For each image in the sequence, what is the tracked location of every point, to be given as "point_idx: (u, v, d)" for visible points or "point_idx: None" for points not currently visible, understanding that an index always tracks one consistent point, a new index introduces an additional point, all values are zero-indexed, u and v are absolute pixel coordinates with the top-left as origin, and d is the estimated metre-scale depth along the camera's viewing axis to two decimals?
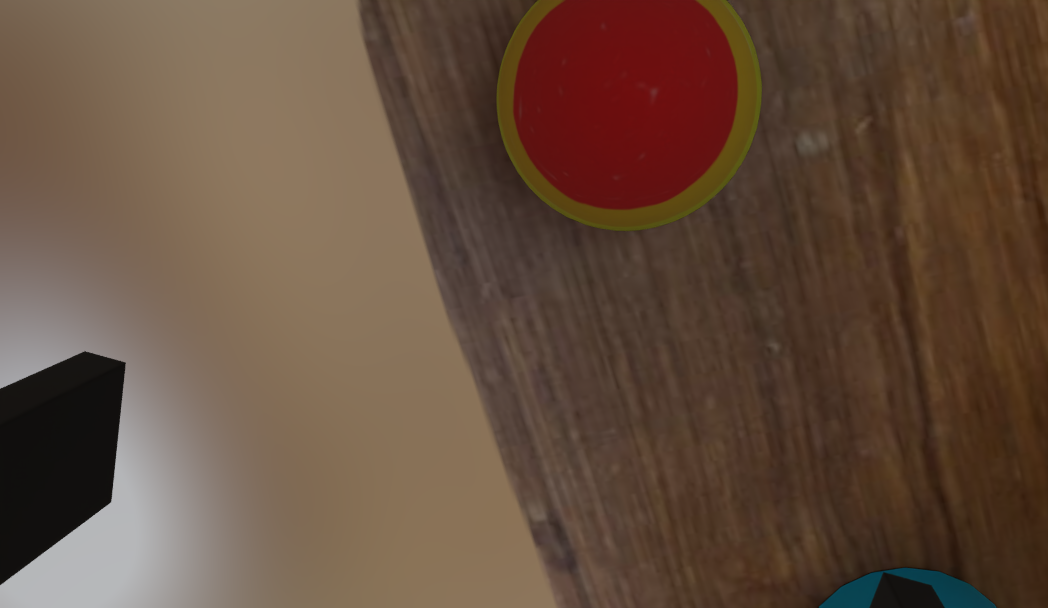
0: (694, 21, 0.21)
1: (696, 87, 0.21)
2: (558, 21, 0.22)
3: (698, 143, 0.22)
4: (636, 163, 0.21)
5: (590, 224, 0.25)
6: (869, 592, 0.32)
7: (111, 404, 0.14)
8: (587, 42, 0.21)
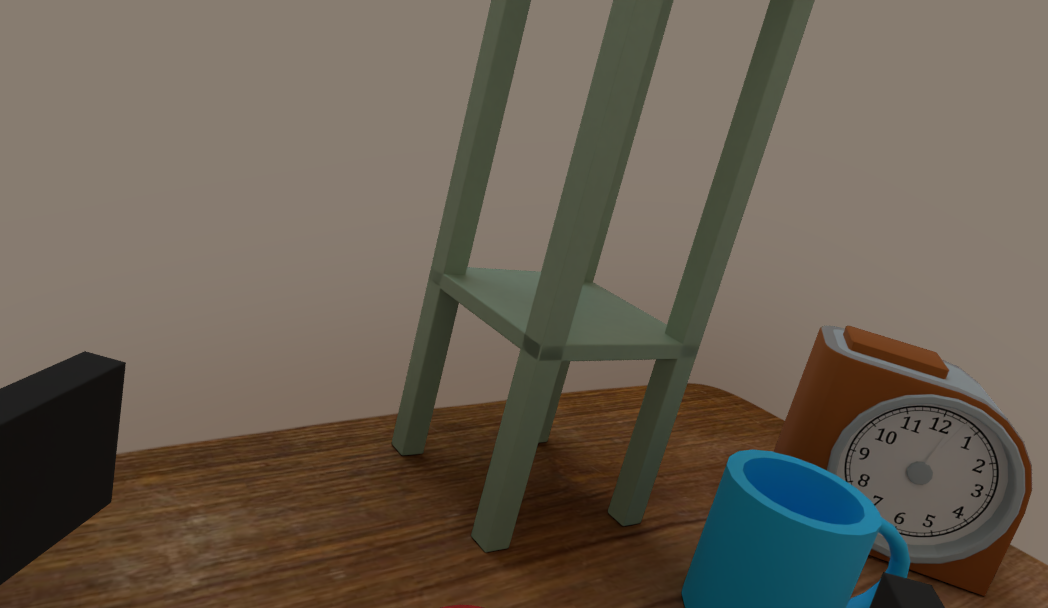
0: None
1: None
2: None
3: None
4: None
5: None
6: None
7: (112, 404, 0.14)
8: None
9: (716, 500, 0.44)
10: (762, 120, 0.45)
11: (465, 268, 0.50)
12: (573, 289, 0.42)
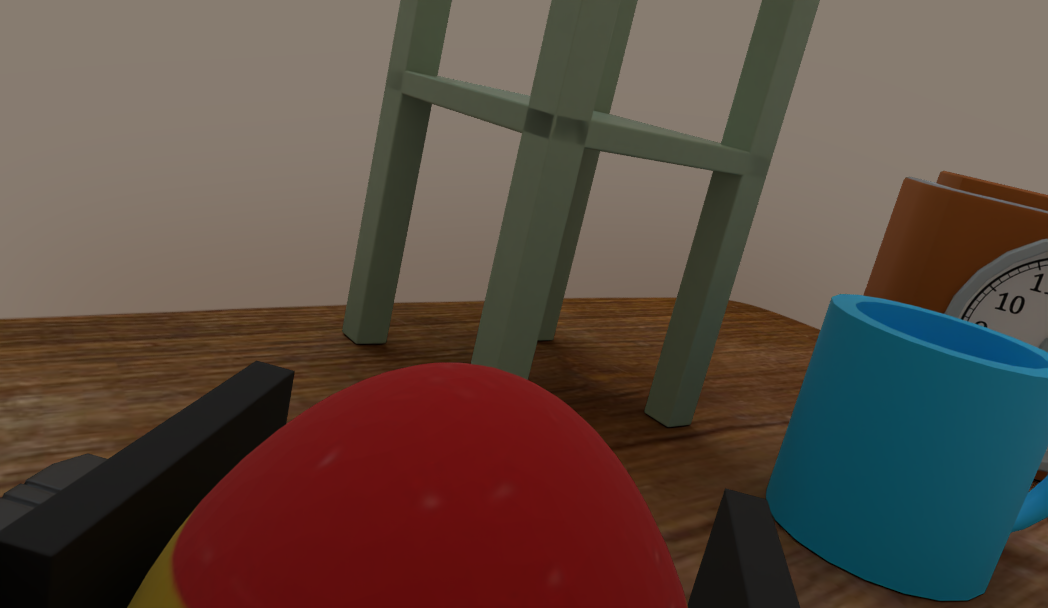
0: None
1: None
2: (308, 607, 0.08)
3: None
4: None
5: None
6: (848, 538, 0.28)
7: (283, 409, 0.15)
8: (374, 462, 0.09)
9: (818, 356, 0.30)
10: None
11: (436, 66, 0.36)
12: (601, 24, 0.27)
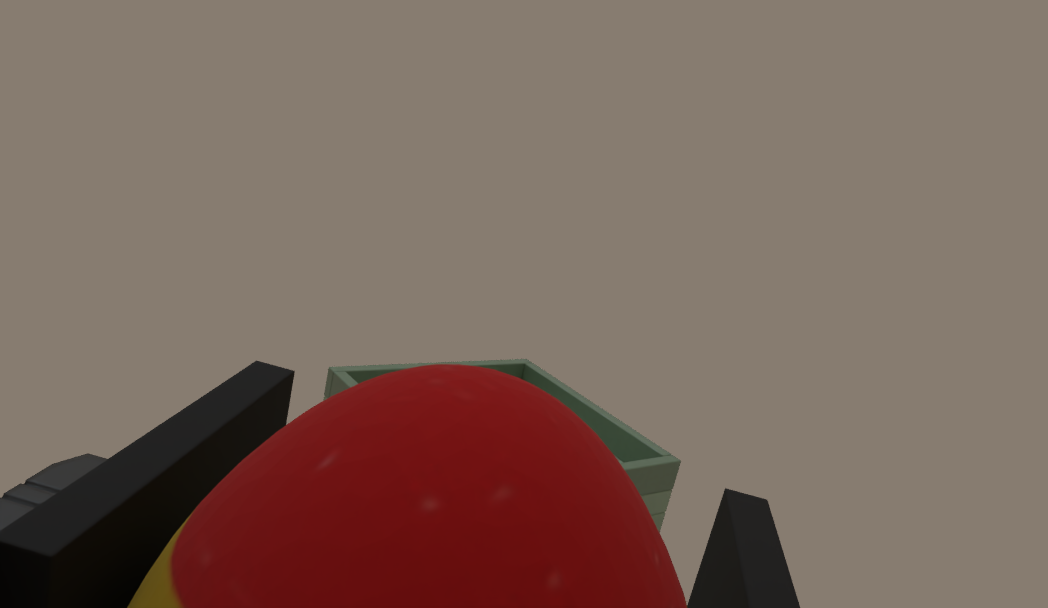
0: None
1: None
2: None
3: None
4: None
5: None
6: None
7: (283, 409, 0.15)
8: (373, 465, 0.08)
9: None
10: None
11: None
12: None
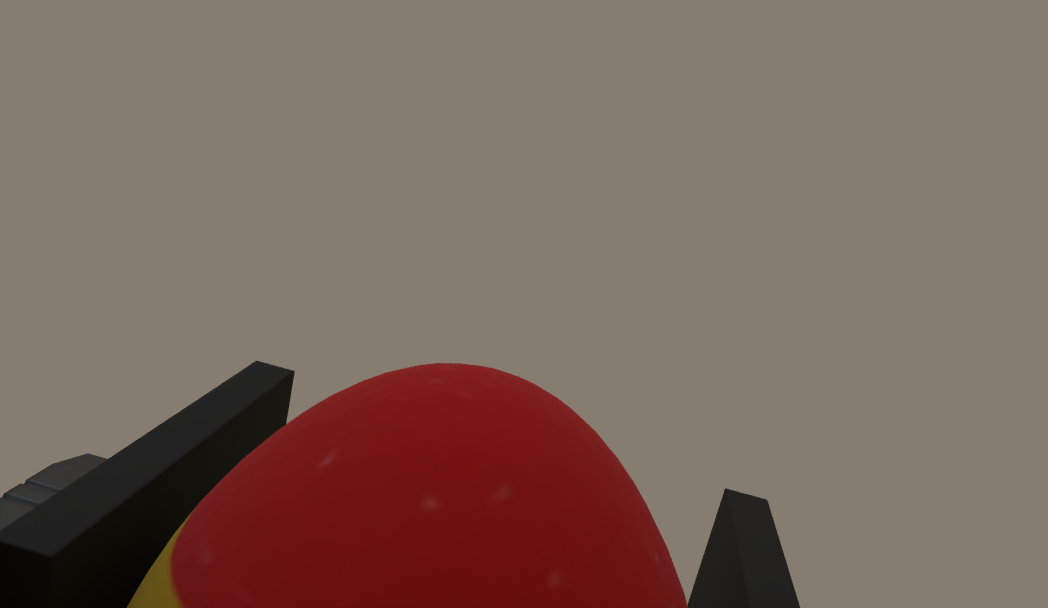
0: None
1: None
2: None
3: None
4: None
5: None
6: None
7: (283, 409, 0.15)
8: (373, 463, 0.08)
9: None
10: None
11: None
12: None
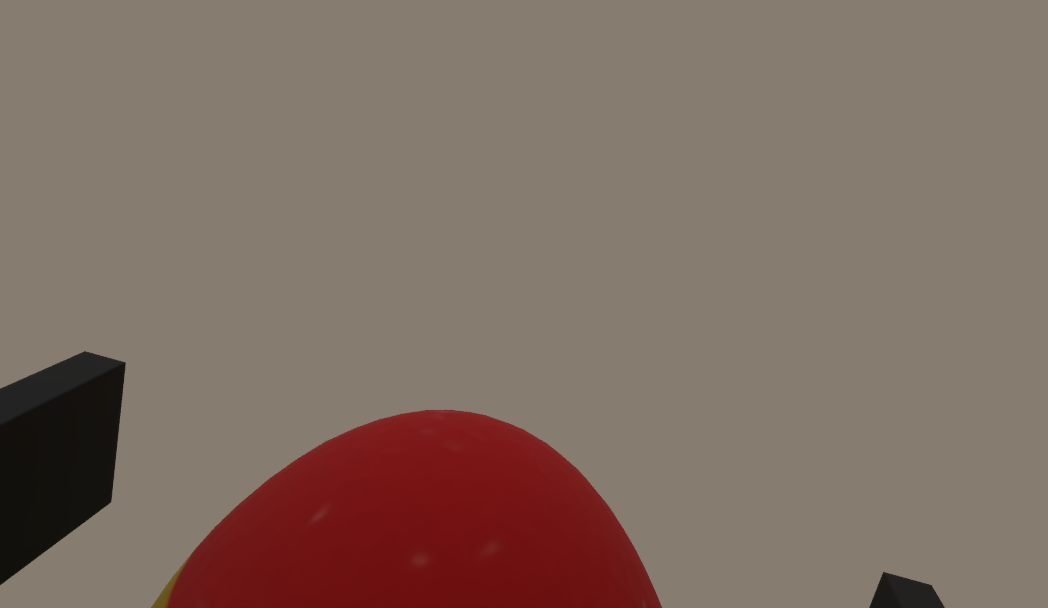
0: None
1: None
2: None
3: None
4: None
5: None
6: None
7: (112, 404, 0.14)
8: (365, 519, 0.09)
9: None
10: None
11: None
12: None
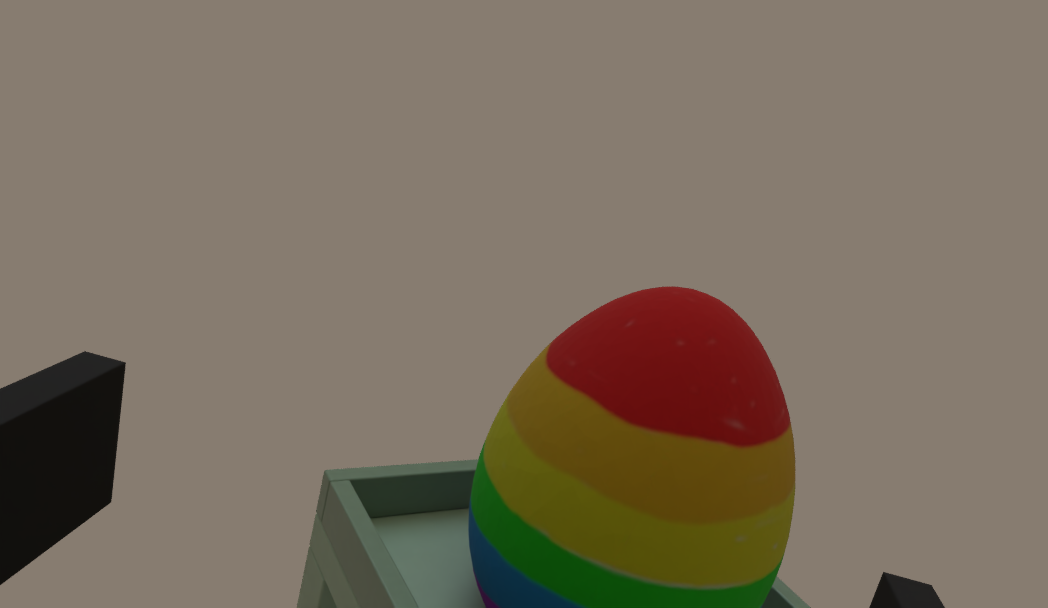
0: None
1: None
2: (628, 381, 0.18)
3: None
4: None
5: None
6: None
7: (112, 404, 0.14)
8: (653, 325, 0.19)
9: None
10: None
11: None
12: None
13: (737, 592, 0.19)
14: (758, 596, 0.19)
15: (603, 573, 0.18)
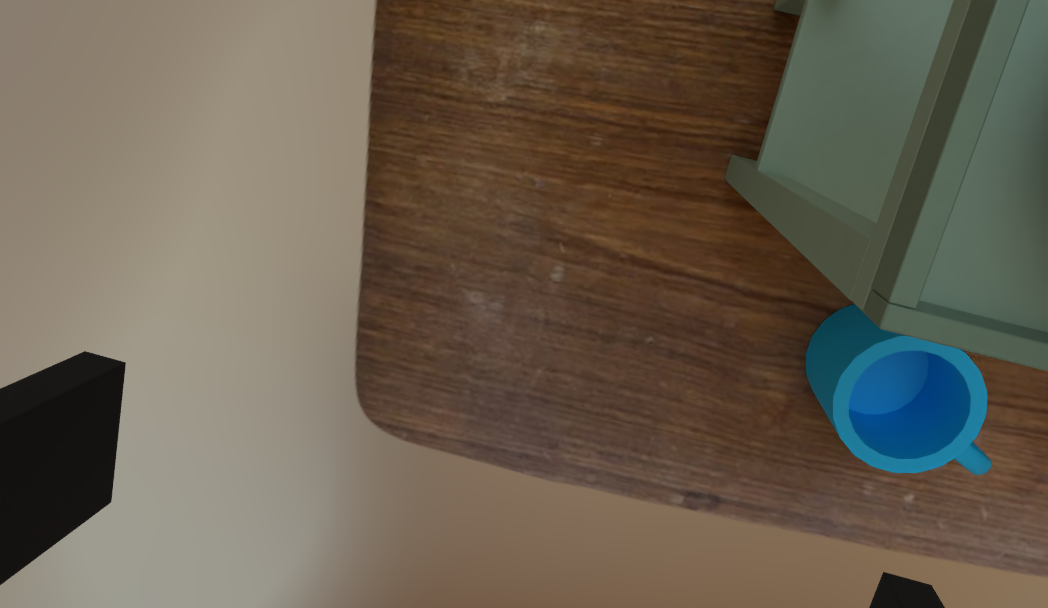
0: None
1: None
2: None
3: None
4: None
5: None
6: (809, 365, 0.53)
7: (112, 404, 0.14)
8: None
9: (861, 336, 0.47)
10: None
11: None
12: None
13: None
14: None
15: None
